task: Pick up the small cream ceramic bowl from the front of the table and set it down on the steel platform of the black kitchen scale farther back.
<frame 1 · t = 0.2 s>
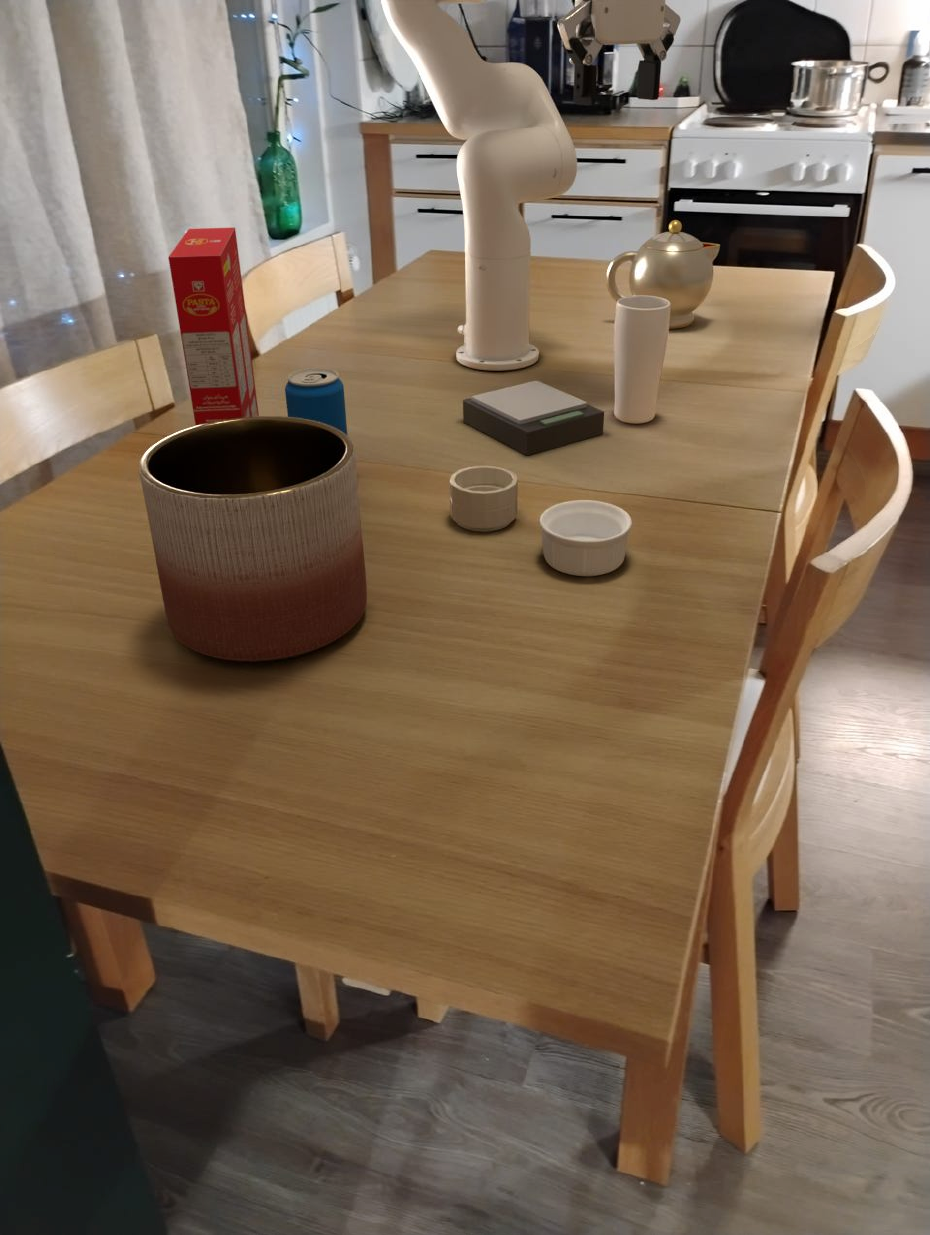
hand: (616, 101, 117), 37 cm above the table, tool pointing down, fingers open, 9 cm apart
food packaging: (234, 456, 123), on the table
planter: (270, 617, 91), on the table
scale: (531, 428, 129), on the table
teapot: (657, 324, 169), on the table
bowl: (483, 518, 107), on the table
beverage can: (322, 477, 117), on the table
ramekin: (583, 560, 99), on the table
drinking glass: (634, 419, 132), on the table
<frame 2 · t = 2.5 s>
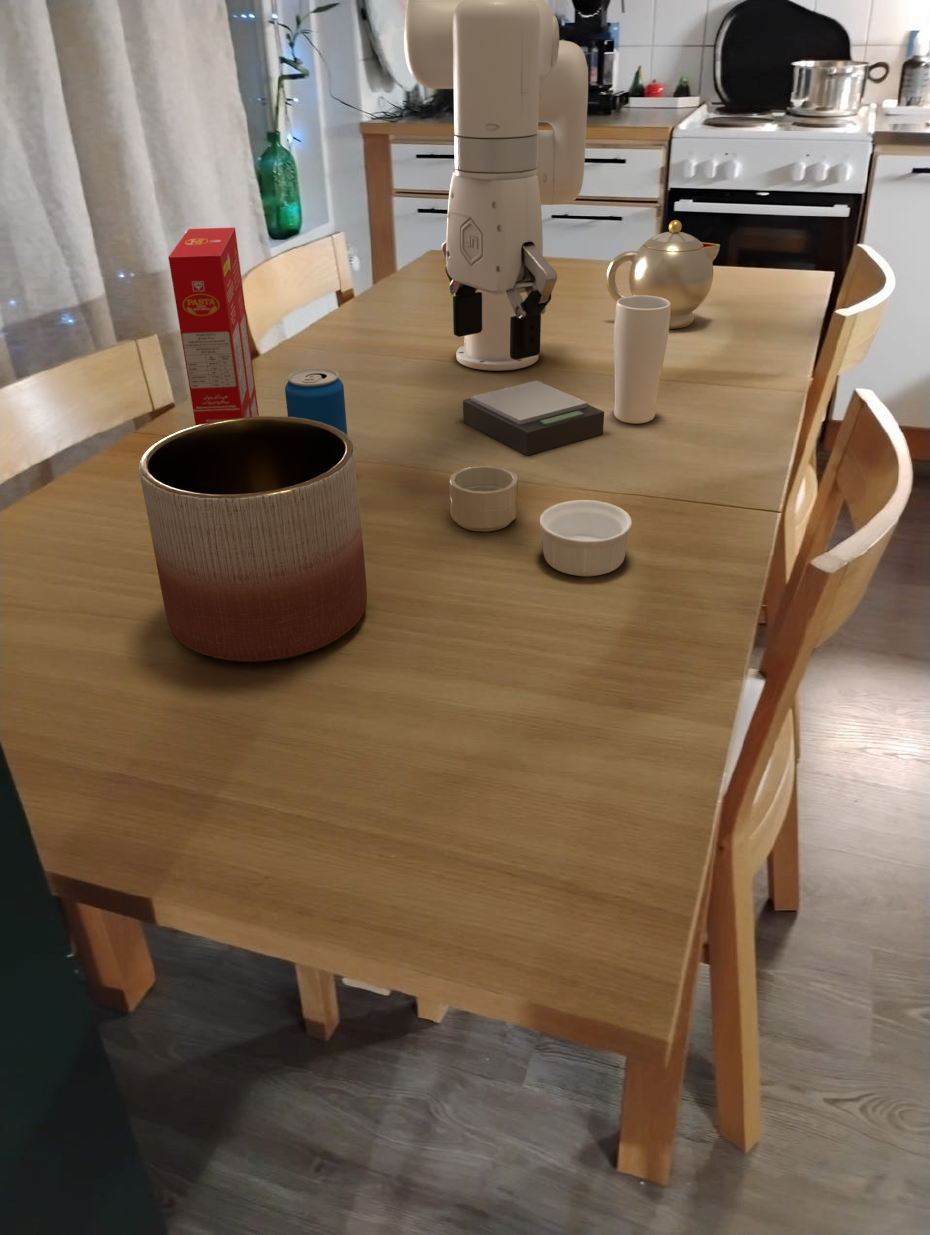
hand: (495, 345, 100), 18 cm above the table, tool pointing down, fingers open, 9 cm apart
nothing on the table moved.
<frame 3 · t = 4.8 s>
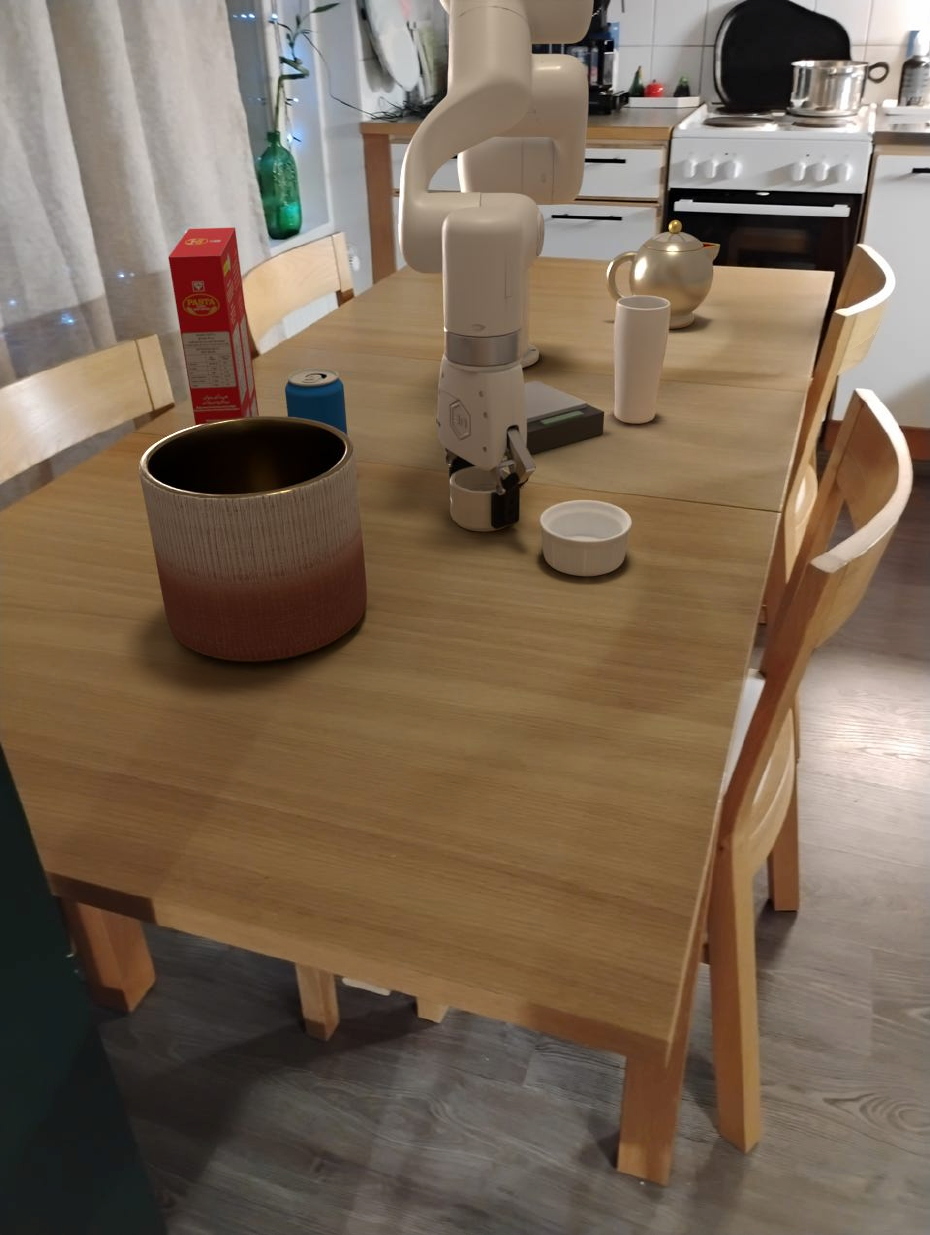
hand: (483, 510, 107), 1 cm above the table, tool pointing down, fingers closed on bowl, 7 cm apart
bowl: (483, 518, 107), on the table, touching gripper
everything else where it was.
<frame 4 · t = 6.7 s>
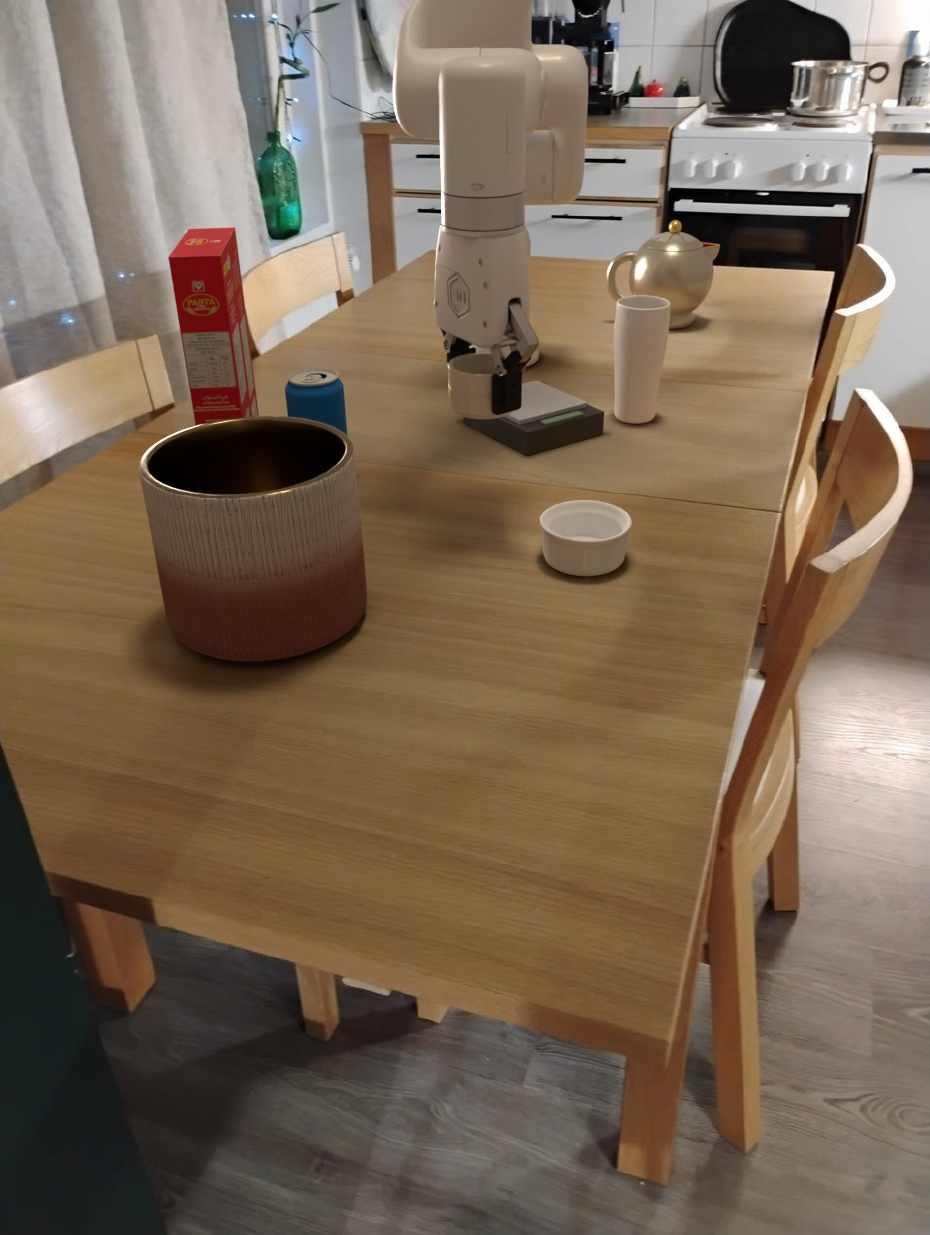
hand: (483, 398, 101), 13 cm above the table, tool pointing down, fingers closed on bowl, 7 cm apart
bowl: (483, 408, 101), point 12 cm above the table, touching gripper
everything else where it was.
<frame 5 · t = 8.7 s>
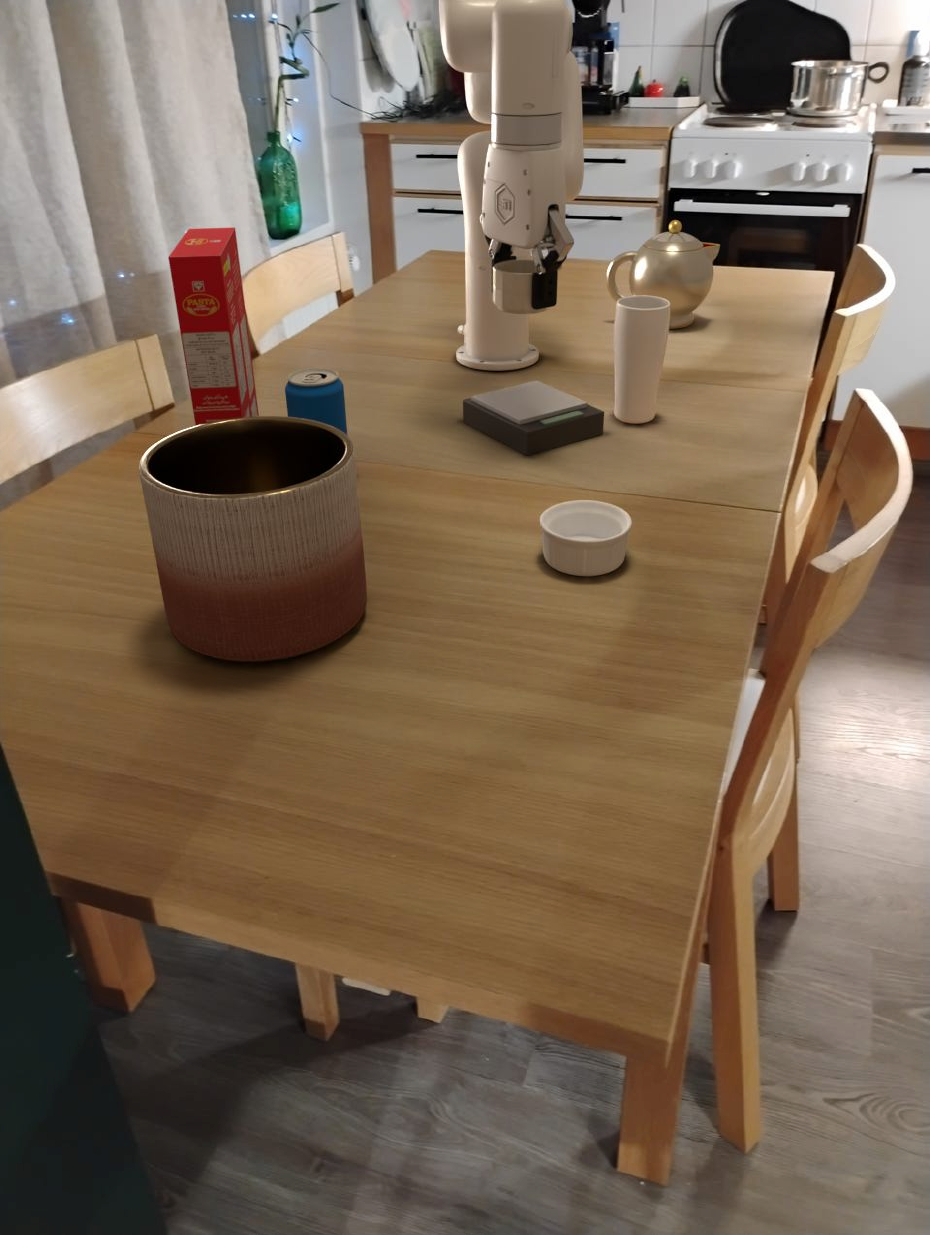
hand: (523, 298, 117), 17 cm above the table, tool pointing down, fingers closed on bowl, 7 cm apart
bowl: (523, 307, 117), point 16 cm above the table, touching gripper
everything else where it was.
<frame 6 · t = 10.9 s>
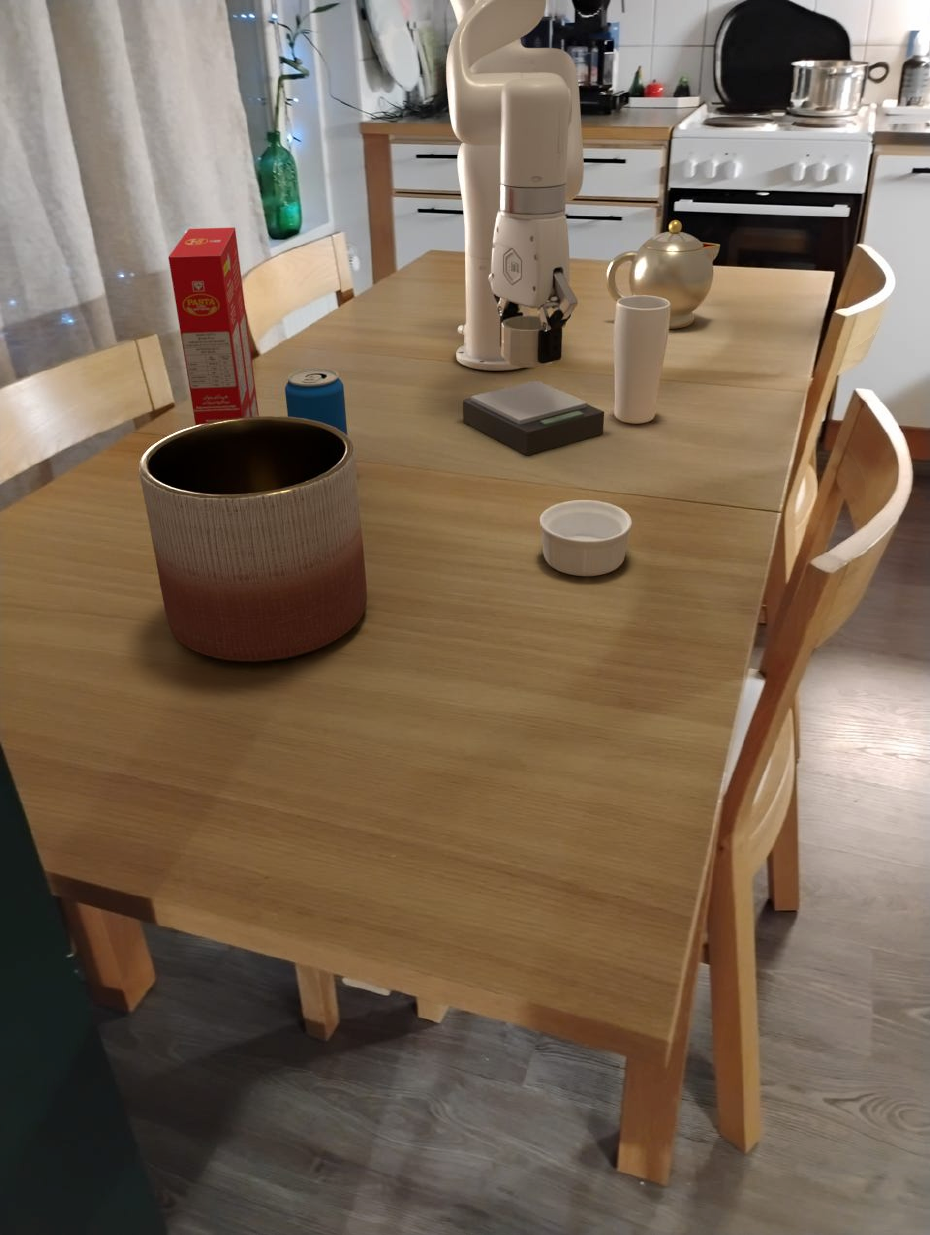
hand: (530, 352, 124), 10 cm above the table, tool pointing down, fingers closed on bowl, 7 cm apart
bowl: (529, 360, 125), point 9 cm above the table, touching gripper
everything else where it was.
when the fingers open (5 cm above the table, at t = 12.7 s): bowl stays where it is, resting on scale.
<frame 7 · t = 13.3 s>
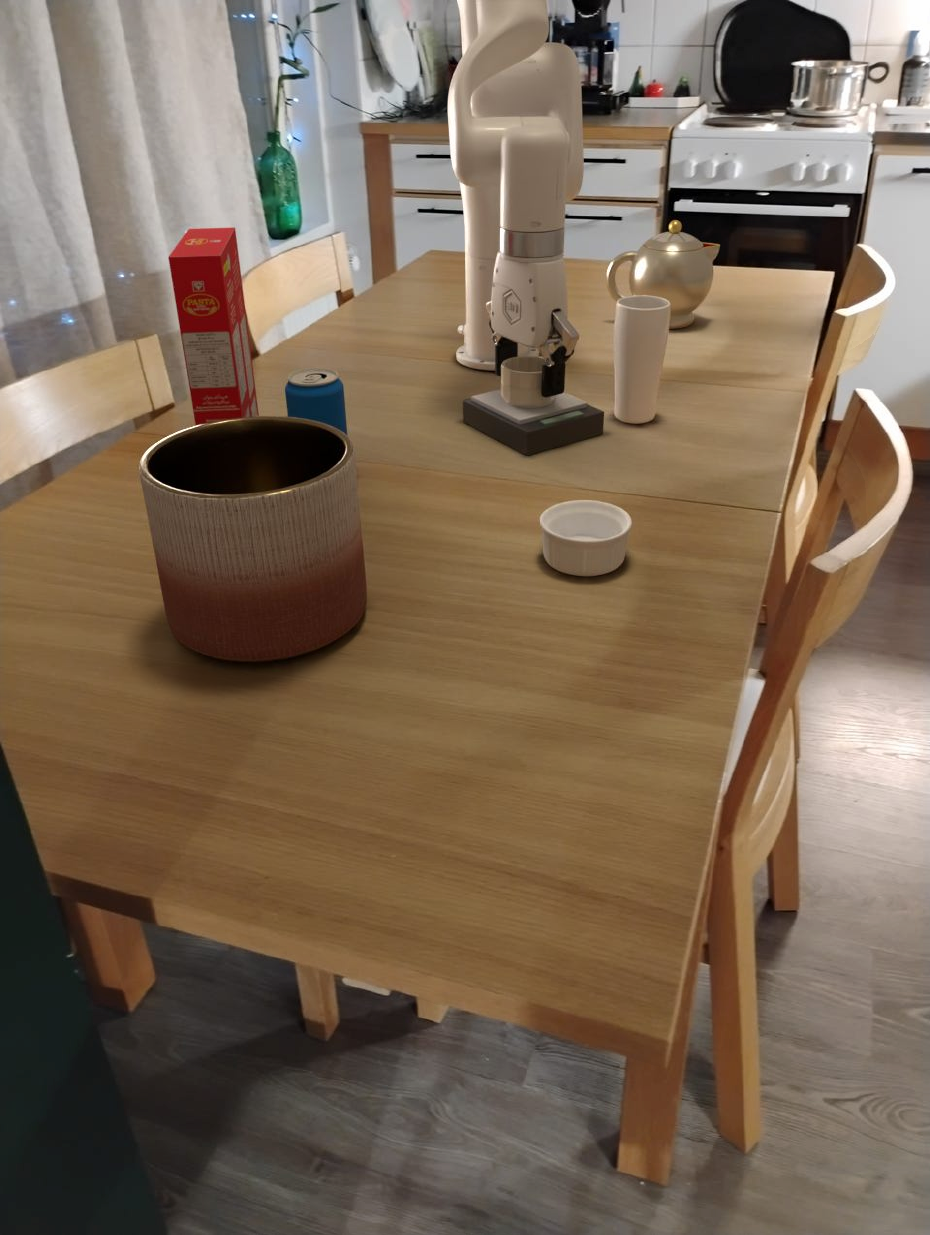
hand: (528, 384, 127), 6 cm above the table, tool pointing down, fingers open, 9 cm apart
bowl: (528, 399, 128), point 4 cm above the table, touching scale
everything else where it was.
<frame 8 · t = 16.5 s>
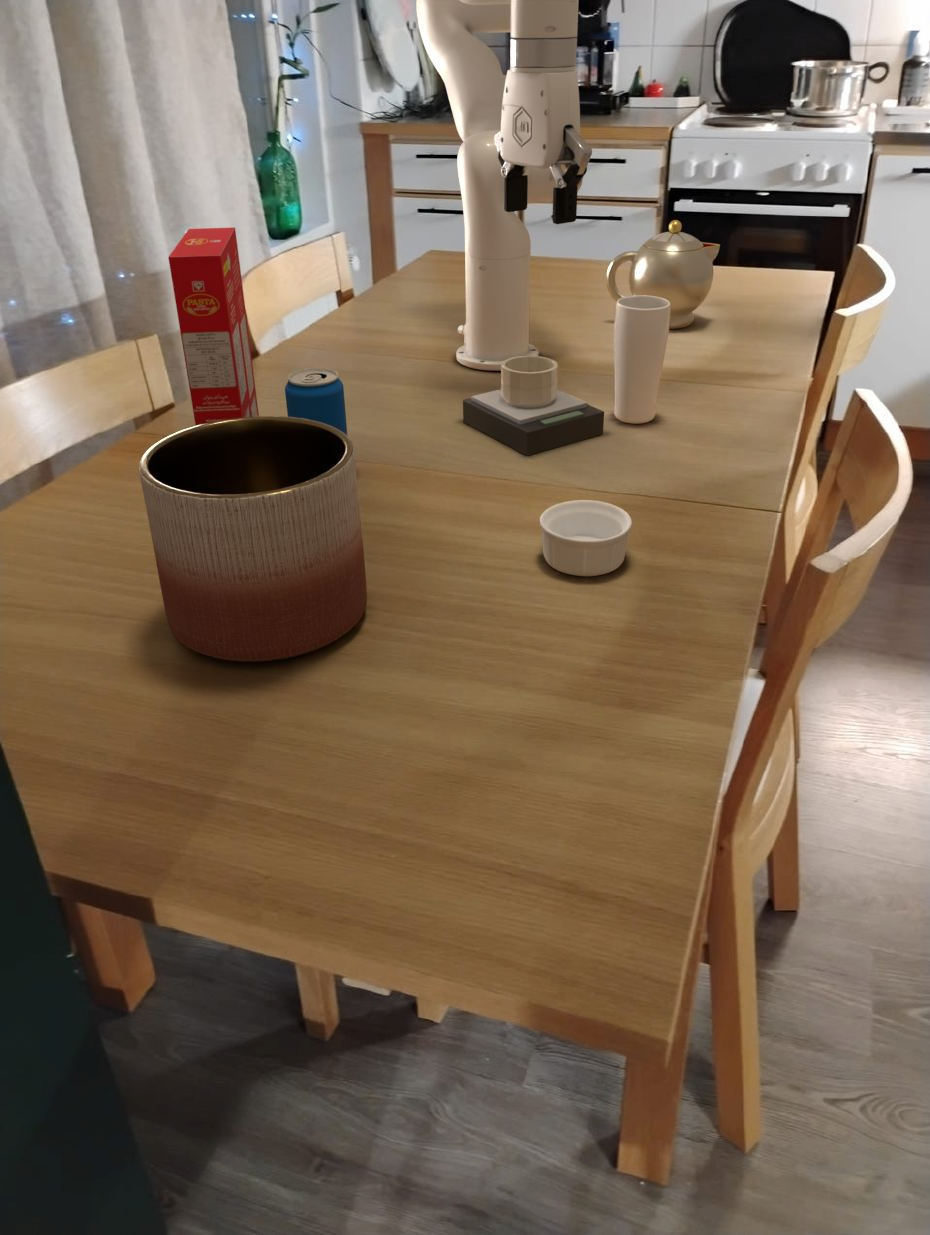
hand: (539, 216, 123), 24 cm above the table, tool pointing down, fingers open, 9 cm apart
nothing on the table moved.
at the end: bowl inside the target area on the scale (0.1 cm from its centre), point 3.6 cm above the scale's base; bowl tilted 0°; the gripper is holding nothing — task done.
